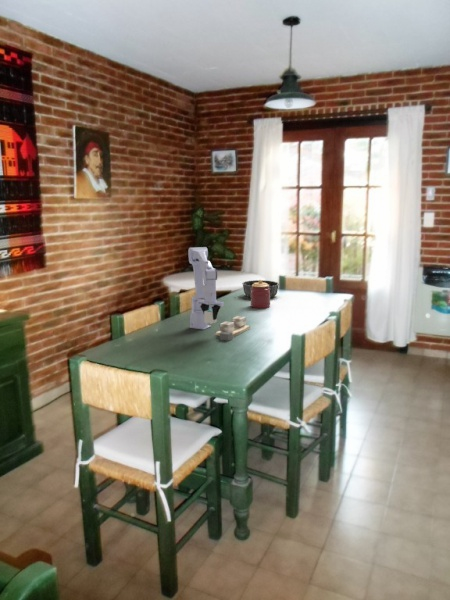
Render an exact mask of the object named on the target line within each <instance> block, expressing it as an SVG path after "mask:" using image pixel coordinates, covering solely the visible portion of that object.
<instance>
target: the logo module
mask: <svg viewBox="0 0 450 600" xmlns="http://www.w3.org/2000/svg"><path fill="white" fill-rule="evenodd" d="M204 322H205V323H208V324H211V325H213V324H215V323H218V318H217V319H216V320H213V311H212V308H211V309H209V310H206V311H204Z"/></svg>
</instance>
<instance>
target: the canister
mask: <svg viewBox="0 0 450 600" xmlns="http://www.w3.org/2000/svg"><path fill="white" fill-rule="evenodd" d="M258 280H259V281H258V282H257V283H254V284H253V285H252V288H251V298H250V307H251V308H254V309H268V308H270V307H271V298H270V288H269V287H268V286H269V285H268V284H267V283H263V282H262V279H258Z"/></svg>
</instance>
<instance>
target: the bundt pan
mask: <svg viewBox="0 0 450 600" xmlns="http://www.w3.org/2000/svg"><path fill="white" fill-rule="evenodd" d="M259 280H260V279H258V280H257V279H256V280H248V281H247V280H246V281H243V282H242V288H243V292H244V293H243V294H244V295H245V296H246V297H249V298H250V299H251V288H252V285H253V284H254V283H257V282H258V281H259ZM261 280H262V279H261ZM262 282H263V283H267V284H268V285H269V286H268V287H269V288H270V299H271V298H273V297H275V296H276V295H277V294H278V291H279V286H280V283H279V282H278V281H277V282H276V281H273V280H264V279H263V280H262Z"/></svg>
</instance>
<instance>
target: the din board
mask: <svg viewBox="0 0 450 600" xmlns="http://www.w3.org/2000/svg"><path fill="white" fill-rule="evenodd" d="M246 317H247V316H240V315H236V316H234V317H233V318H231V321H223V322H222V323H219V329H220V330H218V331H216V332H215V336H218V337H220V333H221V332H224V331H225V332H232V338H235V337H237V336H239V335H240V334H242V333H244V332H246V331H248V330H250V329H251V326H250V325H246V324H247V318H246Z"/></svg>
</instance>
